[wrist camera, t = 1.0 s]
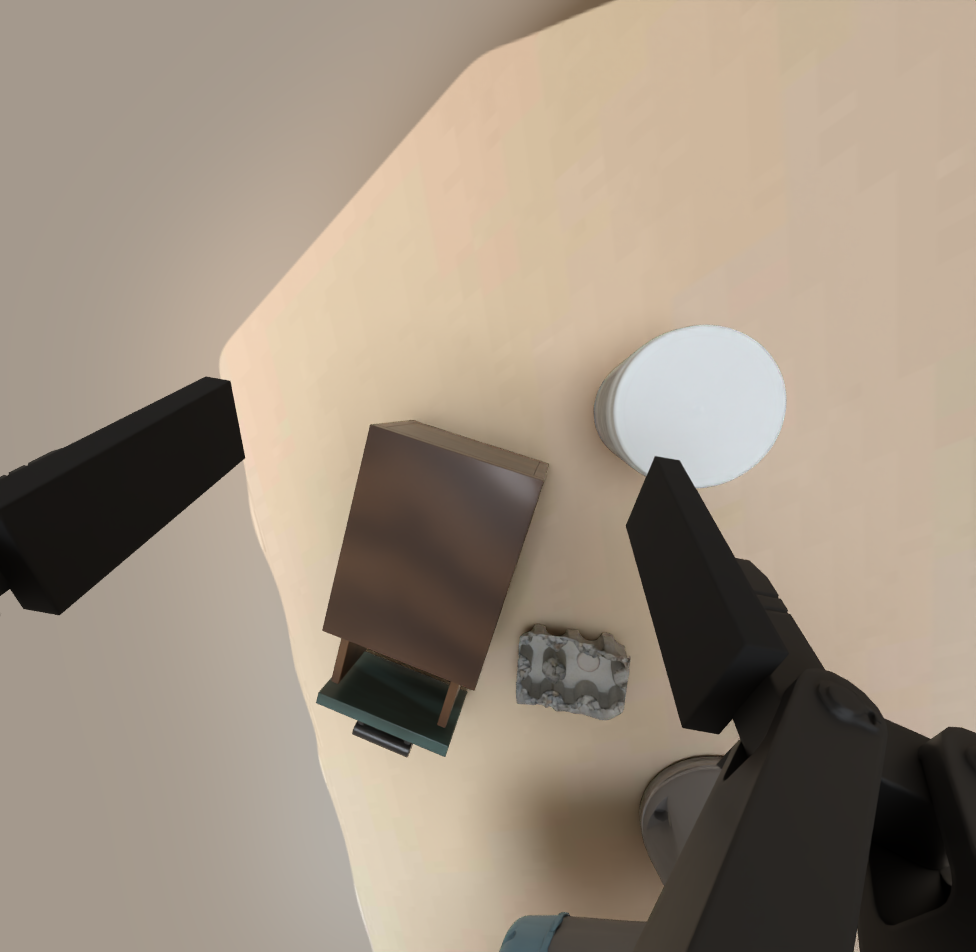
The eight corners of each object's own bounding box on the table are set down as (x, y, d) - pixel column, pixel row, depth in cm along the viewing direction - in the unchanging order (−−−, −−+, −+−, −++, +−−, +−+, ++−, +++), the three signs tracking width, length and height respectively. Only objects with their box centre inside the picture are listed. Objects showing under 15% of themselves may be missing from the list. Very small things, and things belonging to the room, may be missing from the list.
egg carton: (630, 634, 42) (637, 658, 38) (619, 701, 43) (625, 731, 39) (522, 616, 44) (518, 637, 40) (515, 681, 45) (511, 708, 41)
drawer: (453, 733, 46) (432, 794, 39) (346, 689, 48) (306, 740, 41) (512, 553, 42) (501, 584, 34) (391, 510, 43) (356, 532, 36)
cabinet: (492, 632, 44) (474, 691, 35) (369, 586, 46) (321, 630, 37) (548, 463, 41) (544, 480, 31) (412, 419, 42) (370, 424, 33)
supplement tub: (649, 482, 39) (697, 527, 25) (570, 416, 39) (574, 423, 25) (729, 400, 37) (833, 397, 23) (645, 330, 37) (695, 284, 23)
